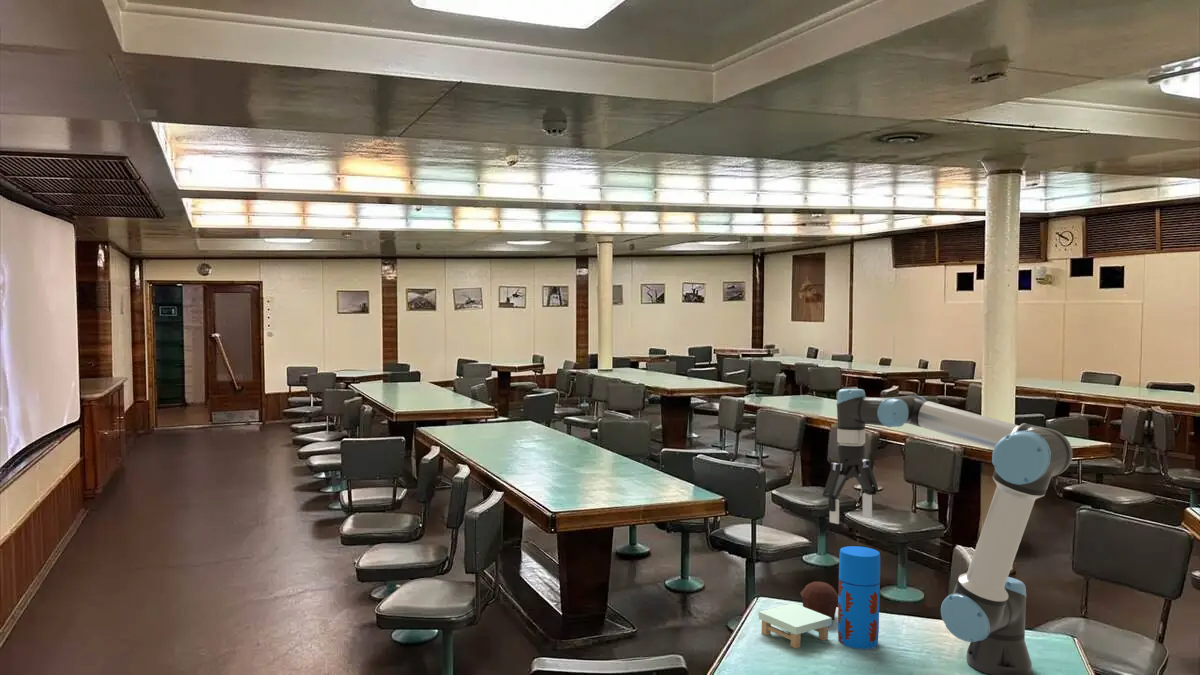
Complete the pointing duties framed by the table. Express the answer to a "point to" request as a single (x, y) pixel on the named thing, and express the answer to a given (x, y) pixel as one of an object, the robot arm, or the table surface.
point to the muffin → (820, 598)
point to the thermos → (858, 597)
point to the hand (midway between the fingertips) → (851, 520)
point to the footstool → (794, 622)
